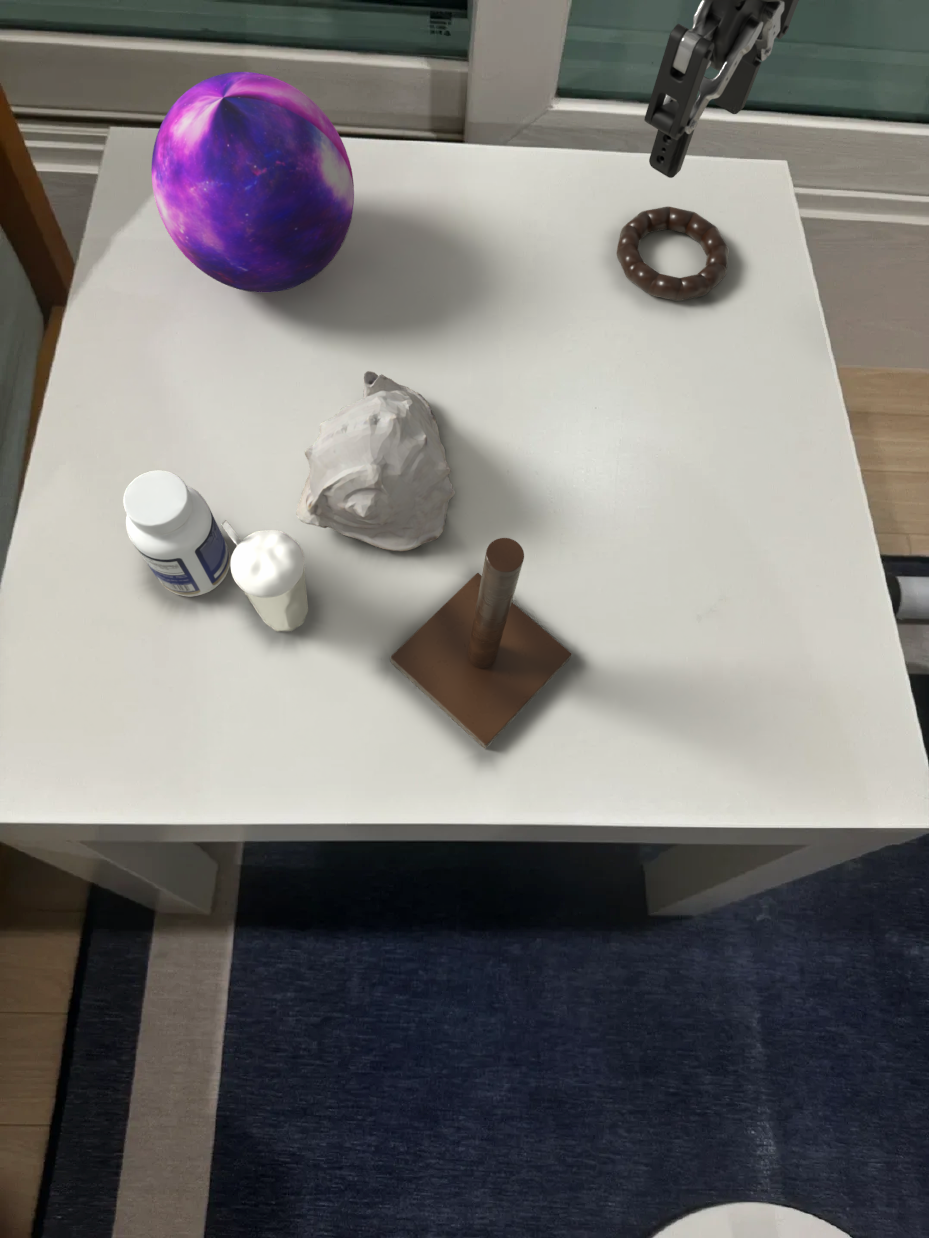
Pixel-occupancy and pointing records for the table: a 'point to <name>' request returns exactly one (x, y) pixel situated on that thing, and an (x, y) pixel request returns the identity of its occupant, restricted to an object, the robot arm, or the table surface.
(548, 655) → the stand
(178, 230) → the decorative orb
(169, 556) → the pill bottle
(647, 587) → the table surface
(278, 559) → the milkshake
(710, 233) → the ring
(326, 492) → the seashell
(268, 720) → the table surface
